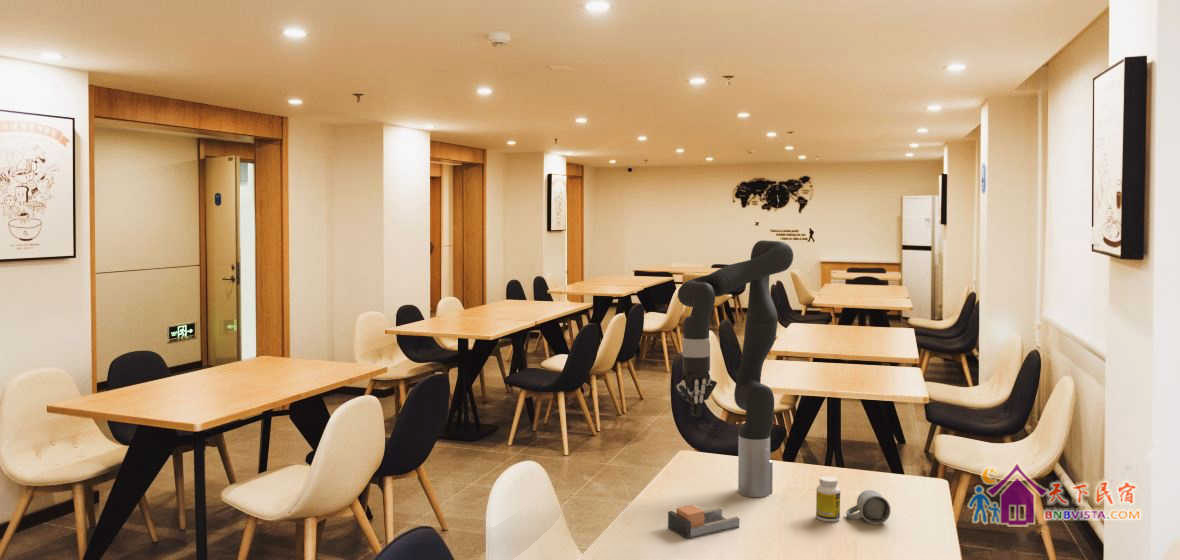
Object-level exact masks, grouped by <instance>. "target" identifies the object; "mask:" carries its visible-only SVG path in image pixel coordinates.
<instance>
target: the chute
mask: <svg viewBox="0 0 1180 560" xmlns="http://www.w3.org/2000/svg"><path fill="white" fill-rule="evenodd" d="M703 511H704V524H702V525H697V526H693V527H691V521H689V520H687V519H686V518H684V517H682V516H680V515H678V514H677V513H676V512H675V511H673V510H670V511H668V512H667V529H669V530H670V531H672V532H673V533H674V534H677V535H679V536H680V537H682V538H684V540H691V539H695V538H701V537H704V536H708V535H712V534H717V533H721V532H724V531H725V532H727V531H730V530H734V529H738V528H740V517H738V516H733V517H729V518H726V517H724V516H723V509H722V508H721V507H719V508H718V507H717V508H713V509H708V510H703Z"/></svg>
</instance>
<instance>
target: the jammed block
mask: <svg viewBox="0 0 1180 560" xmlns="http://www.w3.org/2000/svg"><path fill="white" fill-rule="evenodd" d="M675 509H676V512H675V513H677V514H678V515H680V516H682V517H684V518H686V519H687V520H689V521H691V527H693V526H697V525H702V524H704V511H705V510H703V509H701V508H699V507H697V506H695V505H693V504H689V505H684V506H679V507H676V508H675Z"/></svg>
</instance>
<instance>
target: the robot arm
mask: <svg viewBox="0 0 1180 560" xmlns="http://www.w3.org/2000/svg"><path fill="white" fill-rule="evenodd" d="M793 260H794V251H793V249H792V247H791V245H789V244H788V243H787V242H784V241H780V240H758V241H757V242H756V243H754V245H753V247H752V249H751V253H750V259H748V260H744V261H739V262H736V263H733V264H732V263H731V264H729V265H726V266H723V267H721V268H719V269H718V270H715V271H713V272H712V273H709V274H706V275H702V276H698V277H696V278H692V279H689V280H687V281H685V282H684V283H682V285H680V287H679V289H678V291H677V299H678V301H679V302H680V303H681V304H682V305H684V306H685V307H689V308H693V312H692V315H689V316H686V317H685V318H684V320H683V340H682V371H683V374H682V377H681V378H682V379H681V382H679V383H676V384H675V386H674V387H675V389H676V390H677V392H678V393H679V395H680V396H681V398H682V399H683V400H684V401H686V402H689V403H690V414H691V416H692V417H695V418H697V417H701V414H702V413H703V402H704V401H707V400H708V399H709V398H710V396H711V394H712V393H713V391H714V389H715V388H716V386H717V384H718V383H717V381H716V380H714V379H712V378H711V375H710V371H711V344H710V342H711V341H710V321H711V319H712V315H713V310H714V307H715V303H716V298H718V297H722V296H724V295H726V294H729V293H731V292H733V291H735V290H736V289H738V288H740V287H742V286H744V285H747V284H749V288H748V289H749V291H748V302H747V303H748V304H747V311H746V317H745V324H744V335H743V344H742V350H741V351H742V352H741V359H740V365H739V370H738V374H737V379H736V383H735V388H734V393H733V394H734V395H733V396H734V397H733V398H734V401H735V404H736V406H737V407H738V408H739V409H741V410H743V411H745V420H744V421H745V422H744V423H742V424H740V425H738V426H739V427H738V452H737V453H738V454H737V455H738V457H737V458H738V459H737V460H738V468H737V470H738V473H737V474H738V477H737V478H738V479H737V481H738V483H737V484H738V487H737V489H738V490H737V491H738V493H739V494H740V495H743V496H744V495H745V496H744V497H750V498H763V497H767V496H769V495H770V494H771V493H773V478H774V477H773V470H774V469H773V468H774V467H773V464H774V463H773V461H772V460H771V432H772V429H773V426H774V417H775V416H774V414H775V396H774V392H773V390H772V388H770V387H769V386H768V385H765V384H764V383H761V380H762V379H761V378H762V372H763V371H762V370H763V366H764V363H765V360H766V358H767V357H768V355H769V353H770V351H771V350H772V348H773V346H774V344H775V342H776V338H777V330H778V324H779V323H778V321H779V316H778V311H777V308H776V306H775V303H774V300H773V298H772V295H771V291H770V277H771V275H776V274H780V273H782V272H785V271H787V270H788V269H789V268H790V266H792V263H793Z"/></svg>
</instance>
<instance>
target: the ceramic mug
mask: <svg viewBox="0 0 1180 560" xmlns="http://www.w3.org/2000/svg"><path fill="white" fill-rule="evenodd" d="M845 515H846V517H847V519H849V520H852V521H853V520H858V519H864V520H865V522H867V523H869V524H871V525H881V524H884V523H886V521H887V520H888V519H889V517H890V515H891V506H890V503H889V501H888V500H887V499H886V498H885V497H884V496H883V495H882V494H881V493H879V492H878V491H876V490H873V489H865V490H863V491H861V492H860V493H859V495H858V496H857V500H856V504H855V505H854V506H851V507H849V508H848V509H847V510H846V512H845Z"/></svg>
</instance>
